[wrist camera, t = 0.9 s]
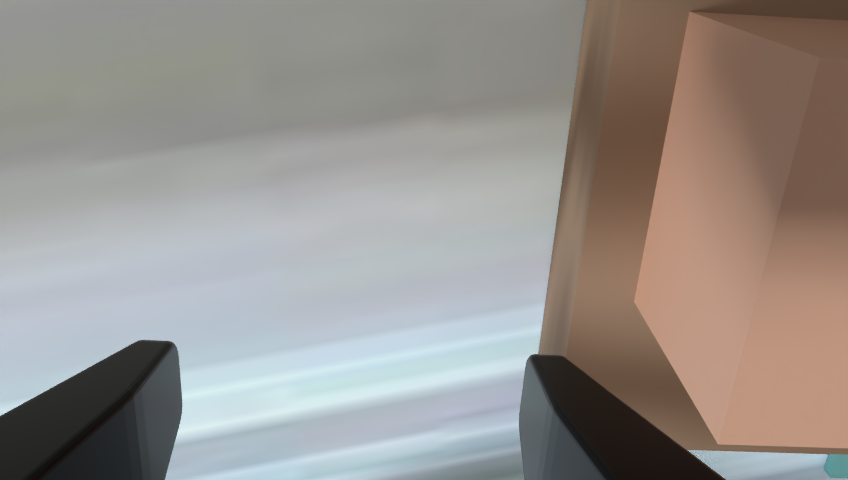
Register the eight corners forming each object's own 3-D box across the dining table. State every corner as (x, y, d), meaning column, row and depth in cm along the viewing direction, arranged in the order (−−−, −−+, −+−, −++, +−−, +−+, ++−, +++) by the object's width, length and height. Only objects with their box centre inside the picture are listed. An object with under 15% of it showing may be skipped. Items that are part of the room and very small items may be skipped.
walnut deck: (849, 393, 24) (907, 456, 21) (534, 382, 23) (551, 445, 21) (1044, -186, 17) (1163, -204, 15) (617, -217, 17) (658, -241, 14)
